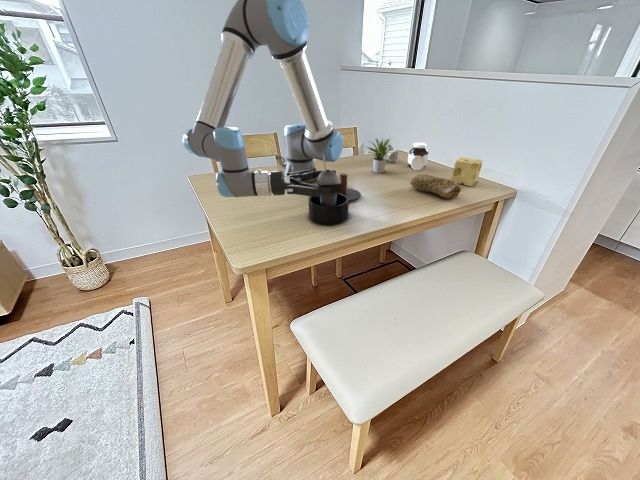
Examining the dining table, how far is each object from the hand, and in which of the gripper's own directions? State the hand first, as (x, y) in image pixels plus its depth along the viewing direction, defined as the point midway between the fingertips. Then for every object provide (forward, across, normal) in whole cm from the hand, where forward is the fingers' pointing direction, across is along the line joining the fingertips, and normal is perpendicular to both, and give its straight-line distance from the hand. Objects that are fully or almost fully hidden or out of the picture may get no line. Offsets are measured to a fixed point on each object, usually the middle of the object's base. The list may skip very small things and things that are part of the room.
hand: (338, 180), depth 90 cm
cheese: (+65, +30, +13) cm, 72 cm away
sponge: (+44, +18, +13) cm, 49 cm away
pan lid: (+5, +18, +12) cm, 22 cm away
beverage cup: (-3, 0, +12) cm, 13 cm away
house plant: (+29, +51, +13) cm, 60 cm away
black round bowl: (-3, 0, +12) cm, 13 cm away
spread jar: (+51, +54, +13) cm, 75 cm away
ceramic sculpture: (+39, +69, +13) cm, 80 cm away
